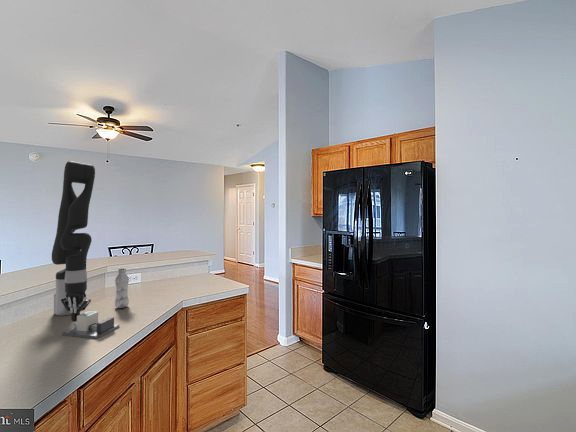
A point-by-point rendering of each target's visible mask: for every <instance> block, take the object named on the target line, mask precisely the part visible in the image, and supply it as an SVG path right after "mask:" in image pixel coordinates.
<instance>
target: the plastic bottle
mask: <svg viewBox="0 0 576 432" xmlns="http://www.w3.org/2000/svg"><path fill="white" fill-rule="evenodd" d="M129 282H130V278H129V276H128V274H127V268H118V269H117V276H116V277H115V279H114V283H115V300H114V307H115V309H124V308H127V307H128V306H129V304H130V301H129V295H128V293H129V292H128V291H129Z"/></svg>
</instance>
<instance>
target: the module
mask: <svg viewBox="0 0 576 432" xmlns="http://www.w3.org/2000/svg"><path fill="white" fill-rule="evenodd" d="M98 322H99V311H93V310H92V311H90V310H88V311H85V312H83V313H80V315H78V316H77V321H76V323H77V331H88V326H90V325H92V324H97V323H98Z"/></svg>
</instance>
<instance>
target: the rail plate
mask: <svg viewBox="0 0 576 432" xmlns="http://www.w3.org/2000/svg"><path fill="white" fill-rule="evenodd" d="M73 325H74V326H73V327H72V328H69V329H68V330H65V331H63V332H62V334H61V336H68V337H77V338H87V339H99V338H101V337H103V336H106V335H107V334H109V333H111V332H113V331H114V330H116V329H118V328H120V324H117V323H115V317H113V316H109V317H108V318H106V319H103V320H100V321H98V323H97V324H92V325H90V326H88V331H77V322H75V324H73Z"/></svg>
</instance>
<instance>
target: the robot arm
mask: <svg viewBox="0 0 576 432" xmlns="http://www.w3.org/2000/svg"><path fill="white" fill-rule="evenodd" d="M63 171H64V172H63V180H62V181H63V182H62V183H63V185H62V195H61V201H60V206H59V210H58V211H59V212H58V217H57V228H56V234H55V238H54V241H53V242H54V243H53V246H52V251H51V261H52V264H54V265H60V266H61V265H65V268H64V269H62V270H61V269H60V270H59V271H57V272H56V273H55V293H54V294H53V314H55V316H68V315H69V316H70V315H71V318H70V320H71V322H73V323H74V322H75V323H77V316H78V315H80V314H81V312H83V311H85V310H86V309H87V307H88V306H89V304H90V303H91V302H92V300H91V299H90V298H89V299H88V298H87V293H86V291H87V290H88V284H87V283H88V274H87V273H88V271H87V256H88V253H89V250H90V248H91V245H92V244H91V243H92V236H91V235H90V234H89V233H87V232H76V231H77V230H81V229H85V228H87V226H88V223H89V209H90V203H91V199H92V193H93V188H94V184H95V177H96V168H95V166H94V165H93V164H90V163H84V162H79V161H72V160H68V161H67V162H66V163H65V165H64V170H63ZM73 183H76V184H83V185H84V188H83V190H82V192H80V194H79V195H78V196H77V195H76V193H75V190H74V188H73Z"/></svg>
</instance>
